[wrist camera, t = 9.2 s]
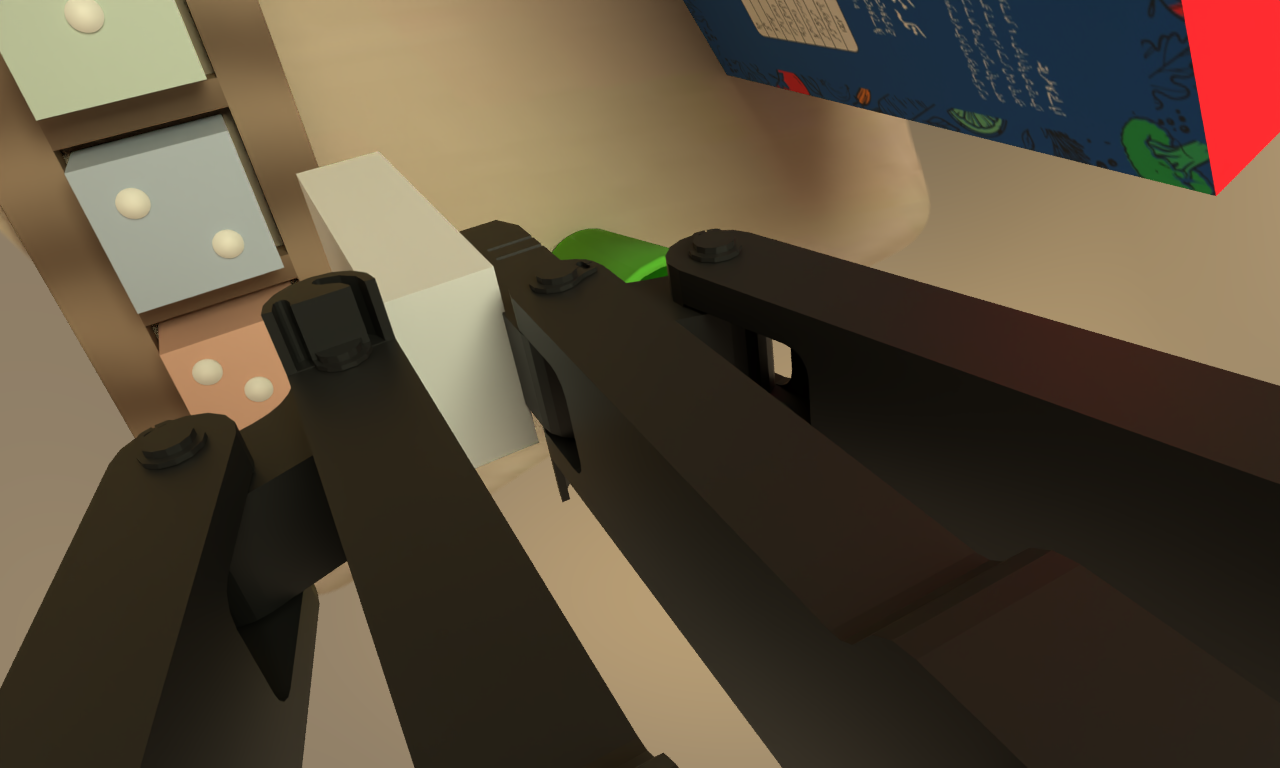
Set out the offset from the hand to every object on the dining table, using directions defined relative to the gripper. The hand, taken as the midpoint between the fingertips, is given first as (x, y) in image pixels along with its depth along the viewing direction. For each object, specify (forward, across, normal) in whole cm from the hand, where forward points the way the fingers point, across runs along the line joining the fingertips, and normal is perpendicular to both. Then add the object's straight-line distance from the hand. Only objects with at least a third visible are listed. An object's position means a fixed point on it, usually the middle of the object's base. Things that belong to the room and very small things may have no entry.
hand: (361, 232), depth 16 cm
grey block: (+26, -4, -5) cm, 27 cm away
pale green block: (+27, -5, +3) cm, 27 cm away
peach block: (+26, -4, -13) cm, 30 cm away
